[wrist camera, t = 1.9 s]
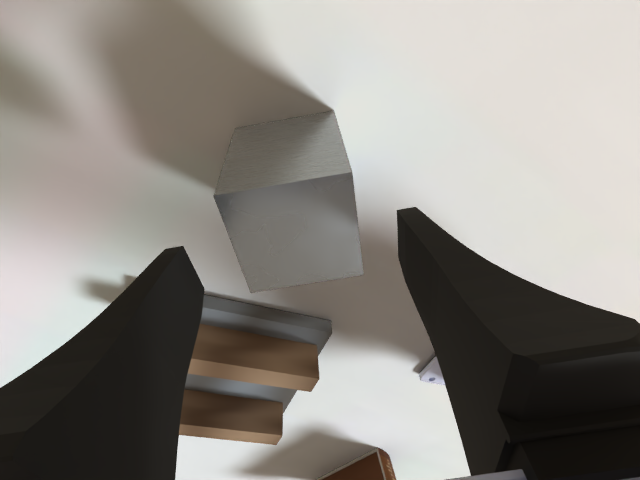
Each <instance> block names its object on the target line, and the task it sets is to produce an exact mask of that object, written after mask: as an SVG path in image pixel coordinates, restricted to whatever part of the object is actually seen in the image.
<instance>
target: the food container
mask: <svg viewBox="0 0 640 480" xmlns="http://www.w3.org/2000/svg"><path fill="white" fill-rule="evenodd" d="M316 480H396V477H395V474H394V470H393V467H392V463H391V460H390V457H389V455H388V454H387V453H386V452H385V451H384V450H382V449H380V448H376V449H374V450H372V451H370V452H368V453H366V454H364V455H362V456H360V457H358V458H356V459H354V460H353V461H351V462H349V463H347V464H345V465H343V466H341V467H339V468H337V469H335V470H333V471H331V472H329V473H327V474H325V475H324V476H322V477H320V478H318V479H316Z"/></svg>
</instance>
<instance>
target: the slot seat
mask: <svg viewBox="0 0 640 480" xmlns="http://www.w3.org/2000/svg"><path fill="white" fill-rule="evenodd" d="M331 334H332V327H331V321H329V320H324V319H319V318H314V317H310V316H305V315H300V314H295V313H290V312H285V311H281V310H276V309H271V308H266V307H261V306H256V305H251V304H247V303H242V302H237V301H232V300H227V299H222V298H218V297H213V296H208V295H204V300H203V310H202V317H201V321H200V325H199V330H198V334H197V338H196V342H195V346H194V350H193V354H192V358H191V362H190V366H189V370H188V374H187V378H186V383H185V388H184V396H183V403H182V410H181V418H180V428H179V435H186V436H196V437H206V438H215V439H225V440H234V441H244V442H253V443H263V444H273V445H277V443H278V442H279V440H280V438H281V437H282V428H283V413H284V411H285V409H286V408H287V406H288V404H289V403H290V401H291V399H292V398H293V396H294V395H295V393H296V391H297V390H302V391H309V392H311V391H312V389H313V388H314V386H315V385H316V383H317V382H318V380H319V367H318V355H319V354H320V352H321V350H322V349H323V347H324V345H325V344H326V342H327V341H328V339H329V337H330V336H331Z"/></svg>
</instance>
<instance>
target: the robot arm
mask: <svg viewBox="0 0 640 480" xmlns="http://www.w3.org/2000/svg"><path fill="white" fill-rule="evenodd" d="M397 226H398V257H399V261H400V264H401V268H402V272H403V275H404V278H405V282H406V284H407V287H408V289H409V291H410V294H411V296H412V298H413V301H414V303H415V305H416V307H417V310H418V312H419V314H420V317H421V319H422V321H423V323H424V326H425V328H426V330H427V333H428V335H429V337H430V340H431V342H432V345H433V348H434V350H435V353H436V356H435V357H434V358H433V360H432V361H431V362H430V363H429V364H428V365H427V366H426V367H425V368H424V369H423V371H422V372H421V373H420V374H419V377H420V380H421V381H423V382H429V383H435V384H441V385H446V389H447V392H448V395H449V398H450V402H451V405H452V408H453V412H454V415H455V419H456V422H457V426H458V429H459V433H460V436H461V440H462V444H463V447H464V451H465V455H466V458H467V462H468V466H469V469H470V473H471V476H468V477H461V478H454V479H446V480H640V324H639V323H638V322H637V321H636V320H635V319H633V318H629V317H626V316H623V315H619V314H616V313H613V312H610V311H606V310H603V309H600V308H596V307H593V306H590V305H587V304H584V303H581V302H578V301H576V300H573V299H570V298H567V297H565V296H562V295H559V294H557V293H554V292H552V291H549V290H547V289H544V288H542V287H540V286H538V285H535V284H533V283H531V282H529V281H526V280H524V279H522V278H520V277H518V276H516V275H514V274H512V273H510V272H508V271H506V270H504V269H502V268H501V267H499V266H497V265H495V264H493V263H491V262H490V261H488V260H486V259H485V258H483V257H481V256H480V255H478V254H477V253H475V252H474V251H472V250H471V249H469V248H467V247H466V246H465V245H463V244H462V243H460V242H459V241H458V240H456V239H455V238H454V237H452V236H451V235H450V234H448V233H447V232H446V231H444V230H443V229H442V228H441V227H439V226H438V225H437V224H436V223H435V222H433V221H432V220H431V219H430V218H429V217H427V216H426V215H425V214H424V213H423V212H421V211H420V210H419V209H418V208H416V207H413V208H407V209H401V210H397ZM203 300H204V287H203V285H202V283H201V281H200V279H199V277H198V275H197V273H196V271H195V269H194V267H193V265H192V263H191V261H190V259H189V257H188V255H187V253H186V251H185V249H184V247H183V246H180V247H174V248H169V249H165V250H164V251H163V252H162V253H161V254H160V255H159V256H158V257H157V258H156V259H155V260H154V261H153V262H152V263H151V264H150V265H149V266H148V267H147V268H146V269H145V270H144V271H143V272H142V273H141V274H140V275H139V276H138V277H137V278H136V279H135V280H134V281H133V282H132V283H131V284H130V285H129V287H128V288H127V289H126V290H125V291H124V292H123V293H122V294H121V295H120V296H119V297H117V298H116V299H115V300H114V301H113V302H112V303H111V304H110V305H109V306H108V307H107V308H106V309H105V310H104V311H103V312H102V313H101V314H100V315H99V316H97V317H96V318H95V319H94V320H93V321H92V322H91V323H90V324H88V325H87V326H86V327H85V328H84V329H82V330H81V331H80V332H79V333H78V334H76V335H75V336H74V337H73V338H71V339H70V340H69V341H68V342H66V343H65V344H64V345H62V346H61V347H60V348H58V349H57V350H56V351H54V352H53V353H51V354H50V355H49V356H47V357H46V358H45V359H43V360H42V361H40V362H39V363H38V364H36V365H35V366H33V367H32V368H31V369H29V370H28V371H26V372H25V373H23V374H22V375H20V376H18V377H17V378H15V379H14V380H12V381H11V382H9V383H8V384H6V385H4V386H3V387H1V388H0V480H175V472H176V459H177V446H178V437H179V428H180V418H181V410H182V403H183V396H184V388H185V383H186V378H187V374H188V370H189V366H190V362H191V358H192V354H193V350H194V346H195V342H196V338H197V334H198V330H199V325H200V321H201V317H202V310H203Z"/></svg>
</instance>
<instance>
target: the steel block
mask: <svg viewBox="0 0 640 480" xmlns="http://www.w3.org/2000/svg"><path fill="white" fill-rule="evenodd" d="M214 198H215V201H216V203H217V206H218V209H219V211H220V214H221V216H222V219H223V222H224V224H225V227H226V230H227V232H228V235H229V237H230V240H231V243H232V245H233V248H234V250H235V253H236V256H237V258H238V261H239V263H240V266H241V269H242V271H243V274H244V276H245V279H246V282H247V284H248V287H249V289H250V292H251V293H253V292H260V291H266V290H272V289H278V288H285V287H291V286H297V285H304V284H310V283H316V282H322V281H329V280H335V279H341V278H347V277H354V276H360V275H364V273H363V264H362V255H361V246H360V238H359V229H358V220H357V211H356V202H355V193H354V184H353V175H352V170H351V166H350V163H349V160H348V156H347V153H346V150H345V146H344V143H343V139H342V136H341V133H340V129H339V126H338V123H337V119H336V116H335V113H334V111H329V112H324V113H318V114H313V115H307V116H301V117H296V118H290V119H285V120H279V121H273V122H268V123H262V124H257V125H251V126H245V127H240V128H235V130H234V134H233V137H232V140H231V143H230V146H229V149H228V152H227V155H226V158H225V162H224V165H223V168H222V171H221V174H220V177H219V180H218V183H217V186H216V189H215V193H214Z"/></svg>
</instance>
